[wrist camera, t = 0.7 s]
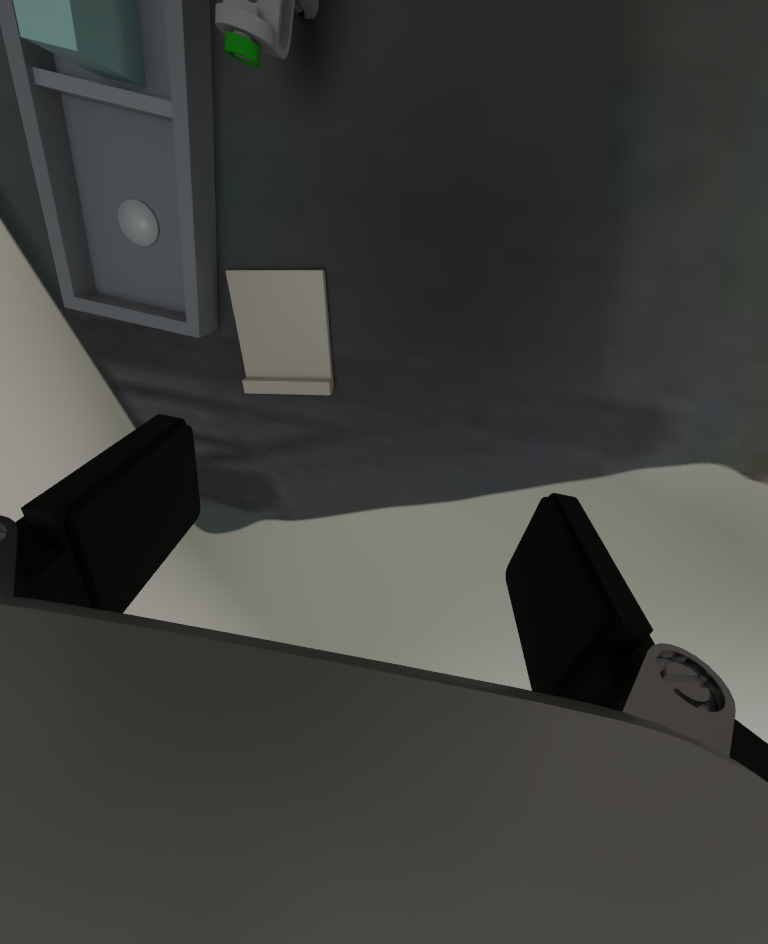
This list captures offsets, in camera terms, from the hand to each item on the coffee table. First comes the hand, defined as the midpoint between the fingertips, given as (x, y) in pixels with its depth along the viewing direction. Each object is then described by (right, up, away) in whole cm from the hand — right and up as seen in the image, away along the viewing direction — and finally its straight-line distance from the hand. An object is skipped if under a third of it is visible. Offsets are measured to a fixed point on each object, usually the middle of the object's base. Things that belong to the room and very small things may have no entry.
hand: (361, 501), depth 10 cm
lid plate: (-8, +13, +24) cm, 28 cm away
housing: (-17, +25, +18) cm, 35 cm away
